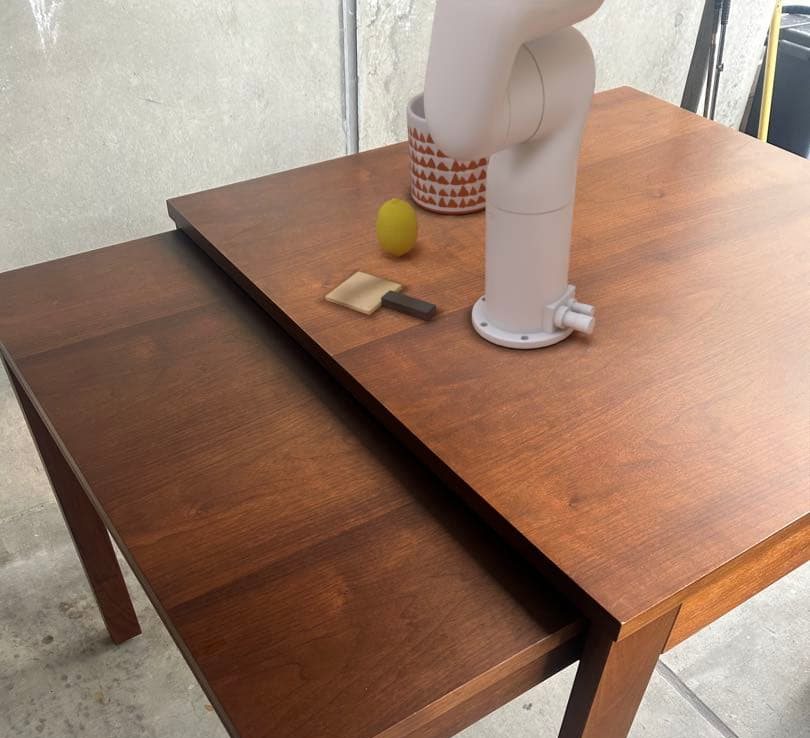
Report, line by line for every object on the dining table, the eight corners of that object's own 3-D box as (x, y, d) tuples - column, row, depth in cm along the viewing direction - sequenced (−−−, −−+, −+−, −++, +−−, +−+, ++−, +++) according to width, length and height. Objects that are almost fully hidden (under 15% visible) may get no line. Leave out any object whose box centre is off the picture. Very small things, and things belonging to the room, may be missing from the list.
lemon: (415, 267, 114) (411, 209, 108) (374, 265, 115) (368, 207, 109) (423, 246, 117) (420, 189, 112) (383, 244, 118) (378, 187, 113)
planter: (490, 220, 121) (492, 127, 112) (398, 211, 125) (392, 119, 115) (514, 177, 130) (517, 87, 121) (427, 169, 133) (424, 81, 124)
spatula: (447, 303, 107) (447, 295, 106) (415, 331, 104) (415, 322, 103) (358, 274, 113) (357, 266, 112) (325, 300, 110) (324, 291, 109)
